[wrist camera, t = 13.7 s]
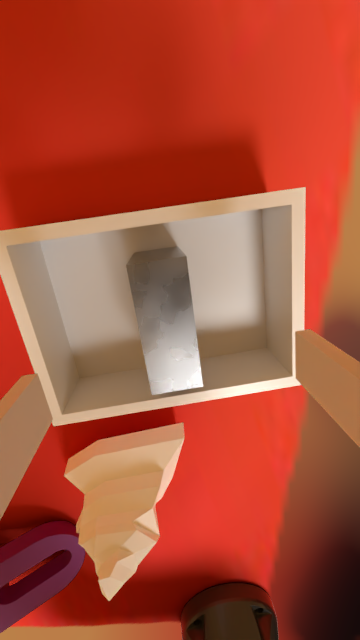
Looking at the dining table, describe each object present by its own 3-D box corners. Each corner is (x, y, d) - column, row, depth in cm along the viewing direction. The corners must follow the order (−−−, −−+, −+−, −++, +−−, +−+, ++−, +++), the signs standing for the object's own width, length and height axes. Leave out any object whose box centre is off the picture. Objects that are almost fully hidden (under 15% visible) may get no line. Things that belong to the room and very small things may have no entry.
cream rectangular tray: (272, 350, 32) (303, 384, 25) (74, 382, 31) (53, 426, 24) (268, 195, 27) (305, 187, 20) (29, 229, 26) (-15, 232, 19)
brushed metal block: (190, 344, 30) (203, 386, 22) (152, 350, 30) (151, 395, 22) (177, 246, 26) (186, 256, 19) (134, 252, 26) (125, 265, 19)
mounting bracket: (62, 474, 43) (-91, 554, 35) (73, 519, 35) (-116, 632, 28) (80, 519, 46) (-57, 601, 38) (93, 568, 39) (-71, 682, 31)
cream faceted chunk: (199, 462, 38) (216, 611, 27) (92, 479, 39) (62, 630, 28) (181, 402, 31) (193, 570, 20) (51, 425, 32) (-12, 597, 21)
